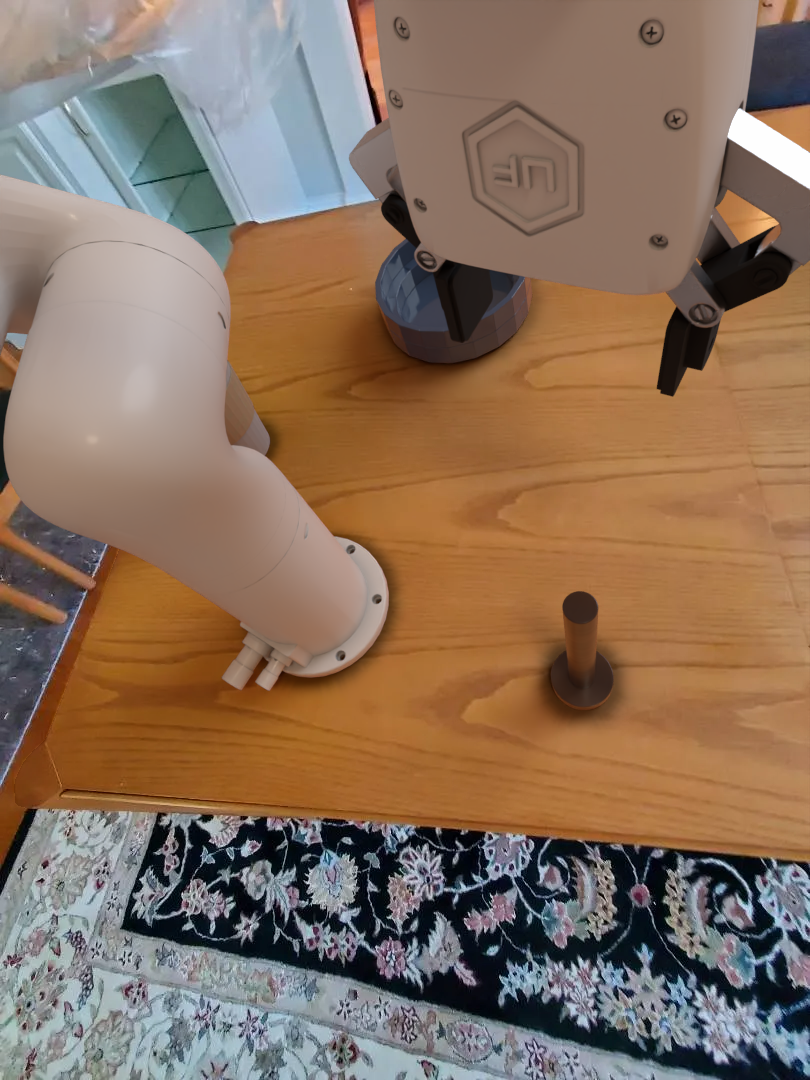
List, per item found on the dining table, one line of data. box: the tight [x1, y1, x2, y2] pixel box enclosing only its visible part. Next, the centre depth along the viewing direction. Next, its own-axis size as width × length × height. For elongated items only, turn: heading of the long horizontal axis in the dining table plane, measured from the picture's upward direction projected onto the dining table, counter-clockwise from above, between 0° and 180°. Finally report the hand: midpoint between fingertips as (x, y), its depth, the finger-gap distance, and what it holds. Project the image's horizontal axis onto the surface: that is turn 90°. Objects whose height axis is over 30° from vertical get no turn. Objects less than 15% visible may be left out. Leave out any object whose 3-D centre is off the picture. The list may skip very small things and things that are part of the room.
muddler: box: [550, 590, 615, 711], centre depth 39 cm, size 4×4×16 cm
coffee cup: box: [224, 359, 271, 456], centre depth 58 cm, size 9×9×15 cm
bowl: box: [374, 238, 533, 364], centre depth 63 cm, size 15×15×5 cm
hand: (568, 343), depth 28 cm, fingers open, 9 cm apart
